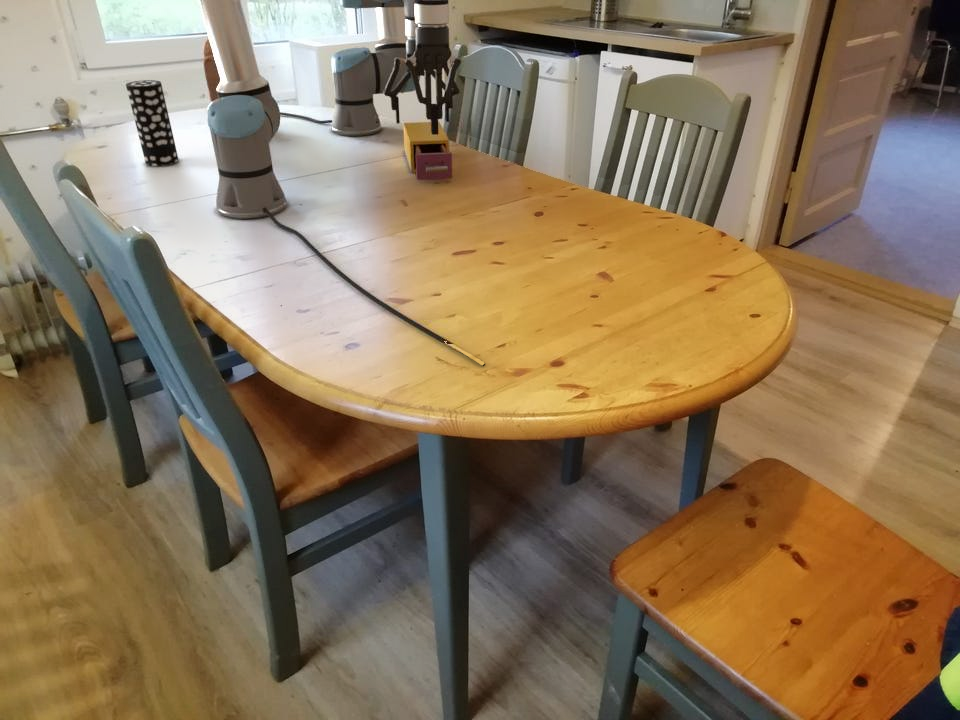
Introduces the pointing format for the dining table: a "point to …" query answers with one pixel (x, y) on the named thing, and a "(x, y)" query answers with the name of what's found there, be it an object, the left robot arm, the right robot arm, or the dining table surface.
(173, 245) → the dining table surface
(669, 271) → the dining table surface
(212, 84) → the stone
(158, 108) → the black white spotted cylinder
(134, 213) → the dining table surface
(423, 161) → the drawer
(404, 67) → the right robot arm
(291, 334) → the dining table surface
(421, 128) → the cabinet
